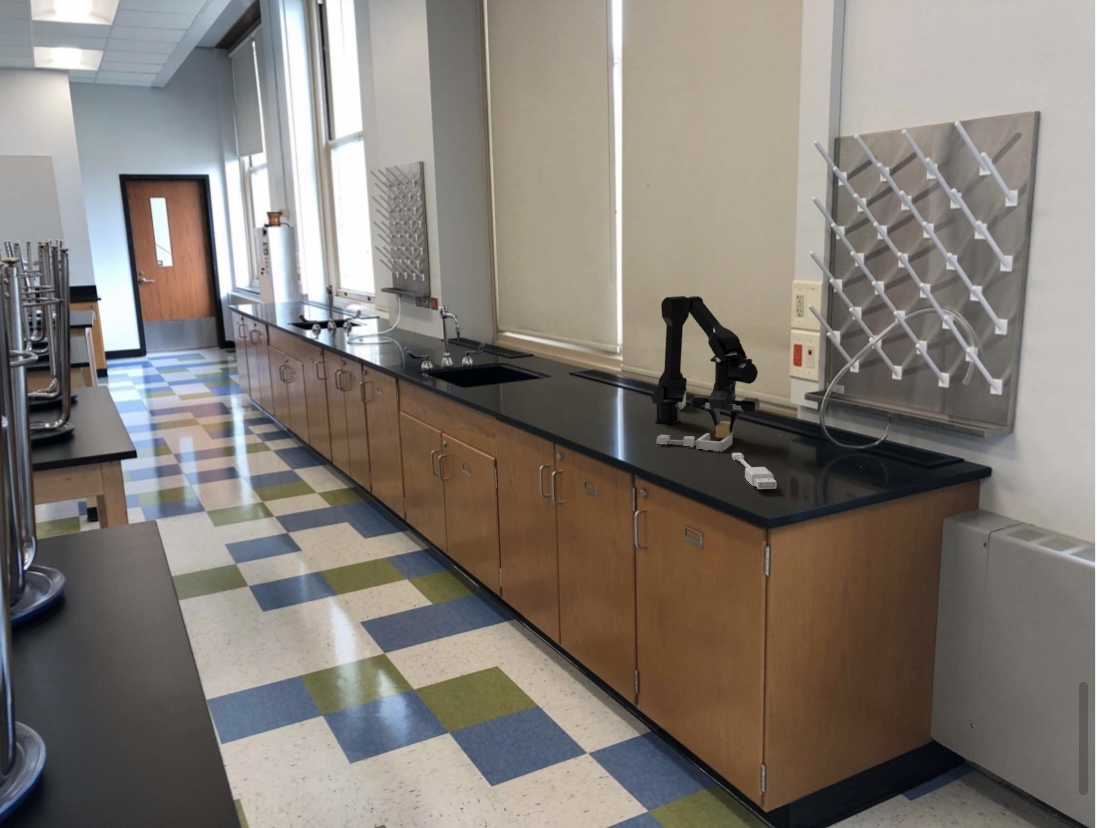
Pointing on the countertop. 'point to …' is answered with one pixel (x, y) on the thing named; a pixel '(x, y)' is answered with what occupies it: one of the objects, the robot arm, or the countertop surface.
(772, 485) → the charging cable
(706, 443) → the end holder
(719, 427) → the tan rectangular block
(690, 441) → the clip
